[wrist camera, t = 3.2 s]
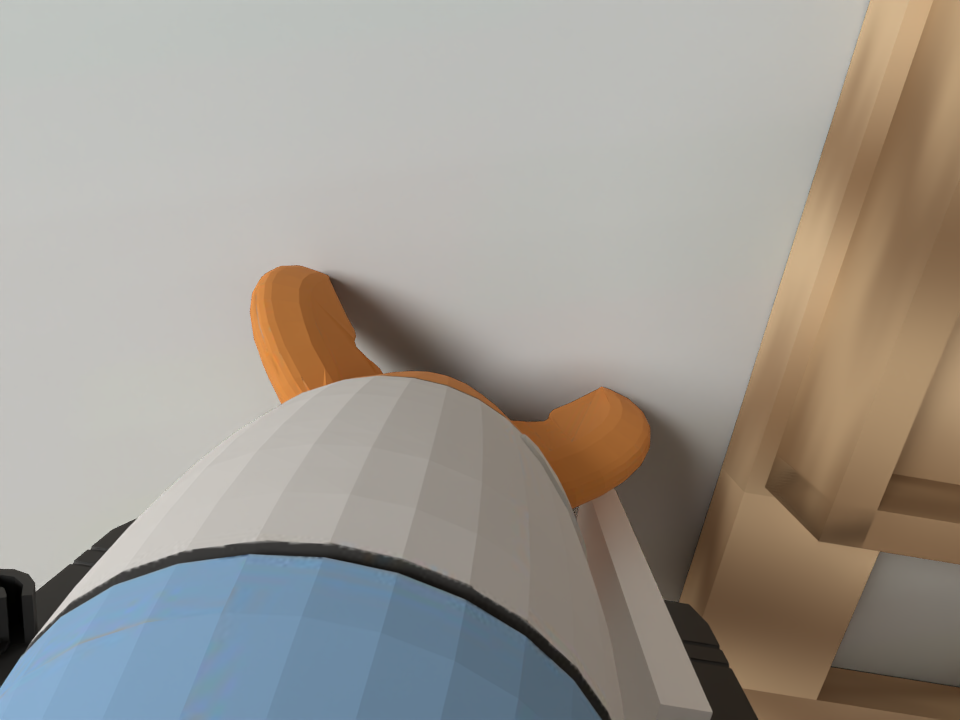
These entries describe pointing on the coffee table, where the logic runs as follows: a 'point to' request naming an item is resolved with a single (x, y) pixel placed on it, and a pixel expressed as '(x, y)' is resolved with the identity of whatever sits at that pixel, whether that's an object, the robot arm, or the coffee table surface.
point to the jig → (850, 391)
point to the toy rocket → (351, 555)
